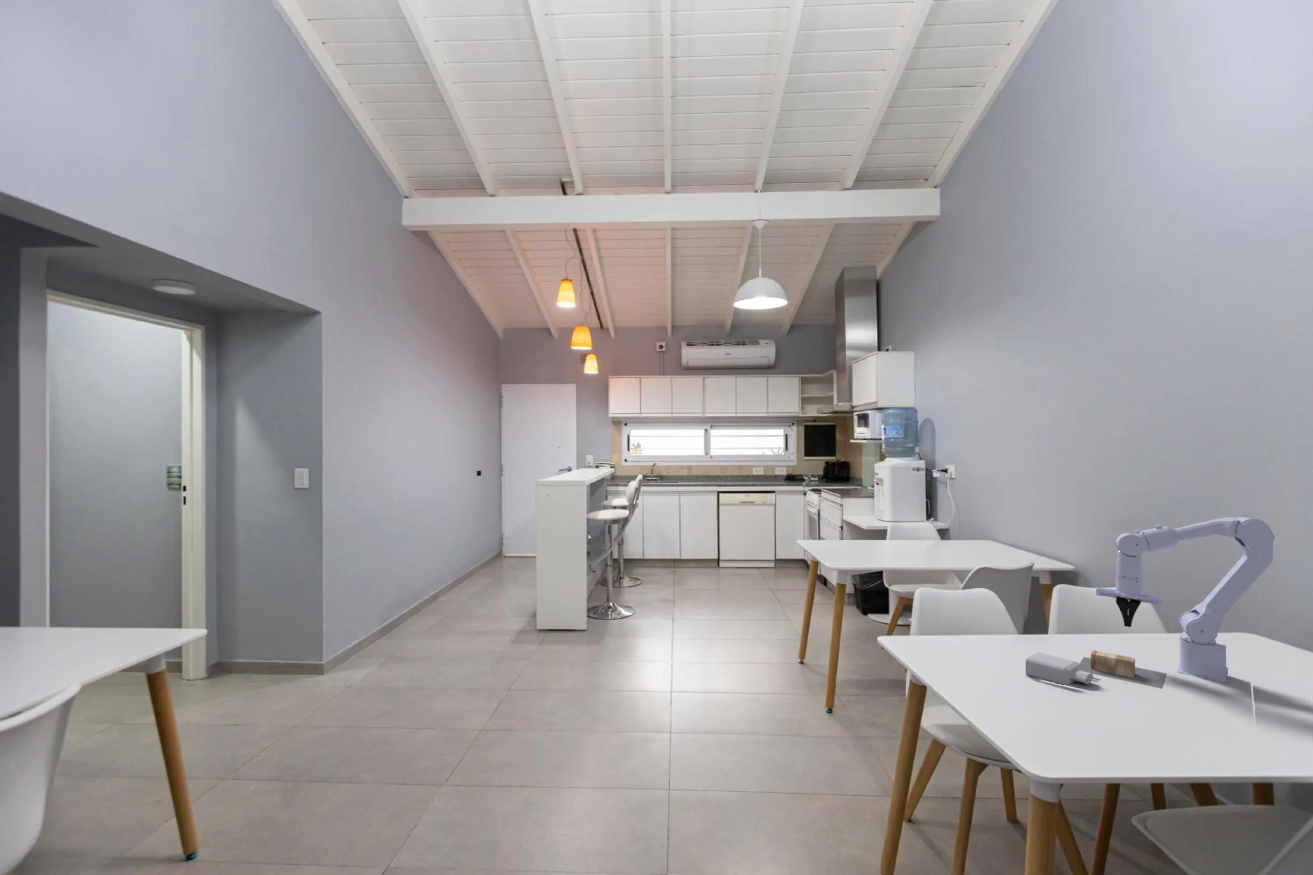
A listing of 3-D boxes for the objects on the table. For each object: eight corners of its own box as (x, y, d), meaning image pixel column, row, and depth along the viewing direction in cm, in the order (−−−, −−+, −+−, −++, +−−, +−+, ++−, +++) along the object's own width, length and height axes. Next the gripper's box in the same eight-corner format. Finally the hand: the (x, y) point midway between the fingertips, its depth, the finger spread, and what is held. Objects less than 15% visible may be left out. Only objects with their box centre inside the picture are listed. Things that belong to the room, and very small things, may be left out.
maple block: (1135, 658, 161) (1093, 650, 167) (1133, 661, 158) (1090, 653, 164) (1135, 673, 161) (1093, 664, 167) (1133, 677, 158) (1091, 668, 164)
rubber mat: (1166, 675, 161) (1166, 673, 161) (1162, 690, 151) (1162, 688, 151) (1084, 658, 174) (1084, 656, 174) (1074, 671, 163) (1074, 669, 163)
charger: (1092, 695, 148) (1025, 676, 160) (1105, 686, 154) (1040, 668, 166) (1092, 675, 149) (1025, 658, 161) (1105, 667, 154) (1040, 651, 166)
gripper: (1094, 574, 172) (1093, 622, 172) (1161, 583, 162) (1160, 635, 162) (1098, 571, 177) (1097, 617, 177) (1163, 579, 167) (1162, 629, 167)
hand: (1127, 625), depth 170 cm, fingers closed
